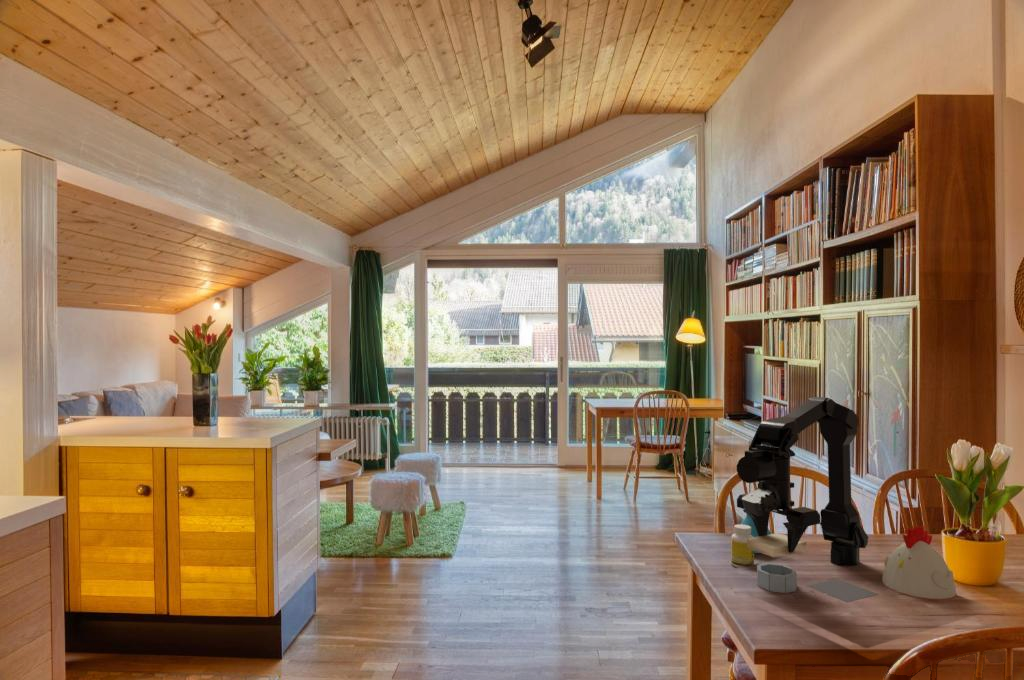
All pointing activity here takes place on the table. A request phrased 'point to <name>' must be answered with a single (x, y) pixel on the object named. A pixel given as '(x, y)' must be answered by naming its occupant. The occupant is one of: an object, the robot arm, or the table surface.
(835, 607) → the table surface
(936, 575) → the white ceramic hen
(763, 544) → the cover board
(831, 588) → the mat
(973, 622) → the table surface
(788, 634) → the table surface
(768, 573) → the bowl
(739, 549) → the supplement bottle
